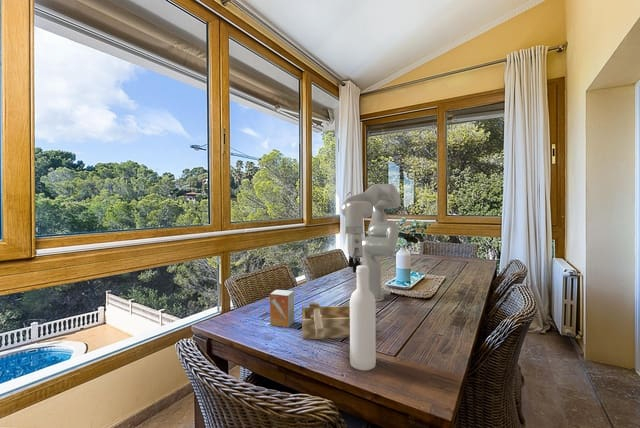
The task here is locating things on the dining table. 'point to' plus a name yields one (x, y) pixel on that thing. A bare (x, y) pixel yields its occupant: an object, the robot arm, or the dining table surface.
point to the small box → (282, 308)
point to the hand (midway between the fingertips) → (354, 269)
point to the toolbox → (326, 321)
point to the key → (318, 324)
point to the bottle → (362, 323)
